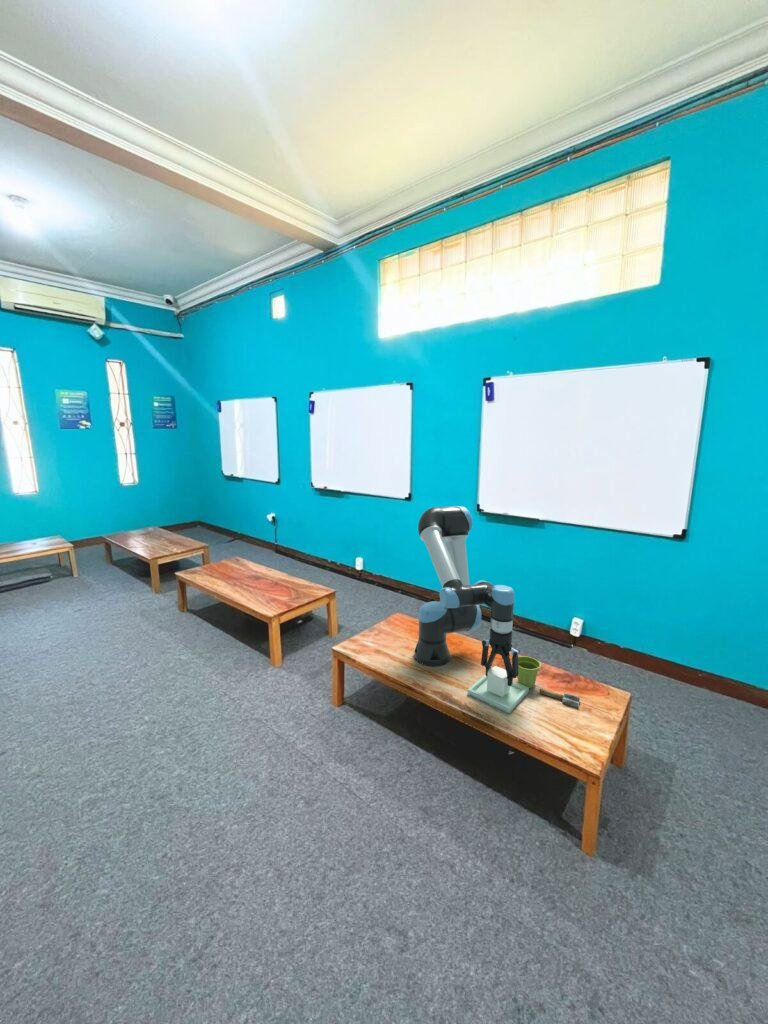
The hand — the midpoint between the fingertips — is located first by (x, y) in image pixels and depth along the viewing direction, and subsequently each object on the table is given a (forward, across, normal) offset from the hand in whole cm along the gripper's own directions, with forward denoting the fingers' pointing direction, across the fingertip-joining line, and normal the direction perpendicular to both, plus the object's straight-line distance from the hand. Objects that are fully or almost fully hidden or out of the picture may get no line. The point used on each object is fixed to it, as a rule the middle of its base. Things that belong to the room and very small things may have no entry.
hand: (498, 688), depth 146 cm
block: (0, 0, 0) cm, 0 cm away
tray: (+2, 0, 0) cm, 2 cm away
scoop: (+2, +18, +12) cm, 21 cm away
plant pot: (+2, +5, +13) cm, 14 cm away
